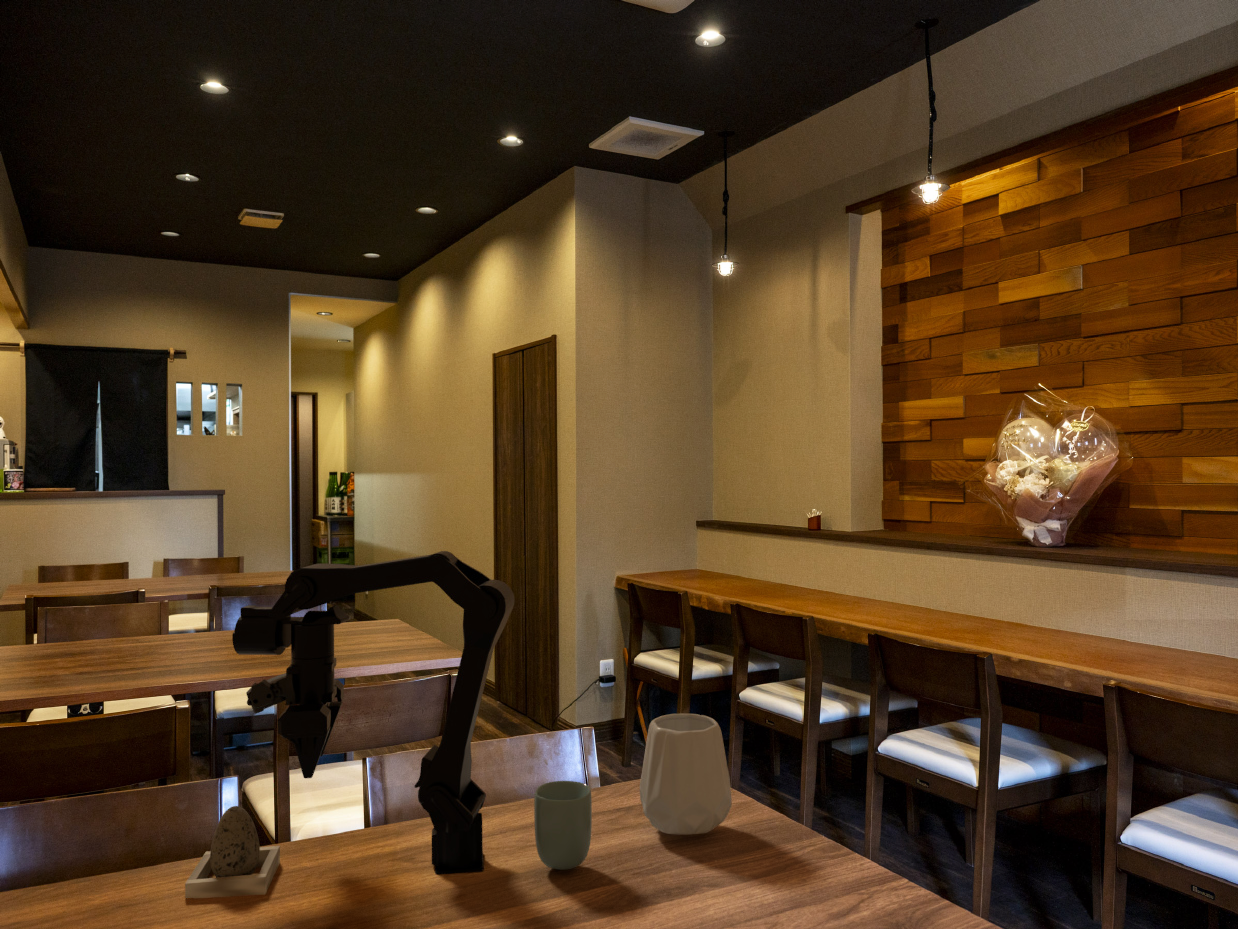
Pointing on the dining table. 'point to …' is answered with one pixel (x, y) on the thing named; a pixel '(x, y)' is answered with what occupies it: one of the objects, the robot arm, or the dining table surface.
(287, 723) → the robot arm
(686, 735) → the vase
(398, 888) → the dining table surface
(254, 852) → the decorative egg
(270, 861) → the egg stand
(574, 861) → the cup
